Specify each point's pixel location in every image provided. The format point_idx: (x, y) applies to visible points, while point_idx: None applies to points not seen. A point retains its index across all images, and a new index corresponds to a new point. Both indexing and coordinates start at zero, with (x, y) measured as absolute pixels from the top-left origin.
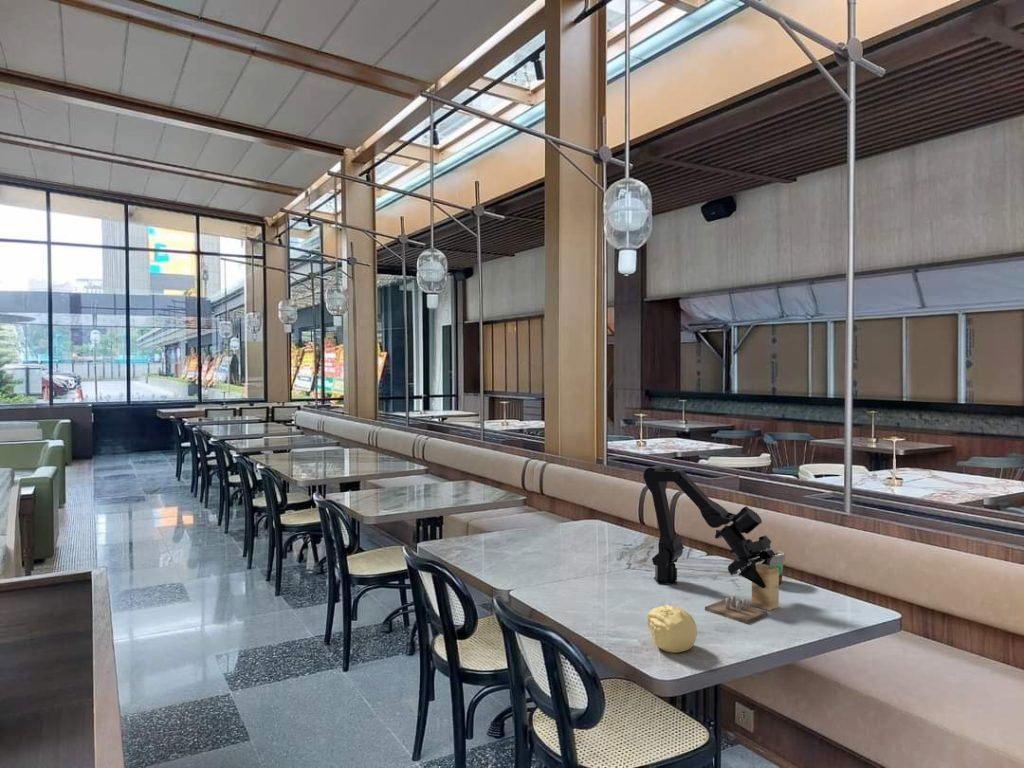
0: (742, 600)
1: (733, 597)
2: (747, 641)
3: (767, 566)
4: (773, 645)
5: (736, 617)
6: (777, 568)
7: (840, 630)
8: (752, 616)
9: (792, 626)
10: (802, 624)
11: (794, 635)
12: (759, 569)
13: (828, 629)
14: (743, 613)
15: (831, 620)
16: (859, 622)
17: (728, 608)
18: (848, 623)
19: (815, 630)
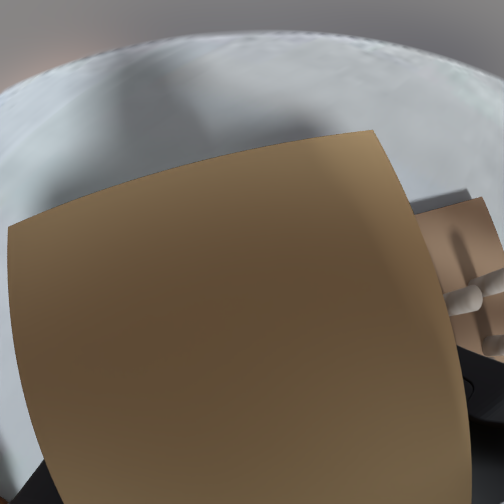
0: (480, 298)
1: (494, 358)
2: (501, 120)
3: (140, 452)
4: (453, 74)
5: (498, 243)
6: (51, 210)
7: (187, 44)
8: (448, 216)
9: (323, 106)
10: (266, 102)
11: (368, 69)
12: (446, 389)
13: (215, 55)
14: (465, 264)
15: (123, 101)
16: (74, 78)
17: (492, 336)
18: (106, 75)
19: (267, 61)
